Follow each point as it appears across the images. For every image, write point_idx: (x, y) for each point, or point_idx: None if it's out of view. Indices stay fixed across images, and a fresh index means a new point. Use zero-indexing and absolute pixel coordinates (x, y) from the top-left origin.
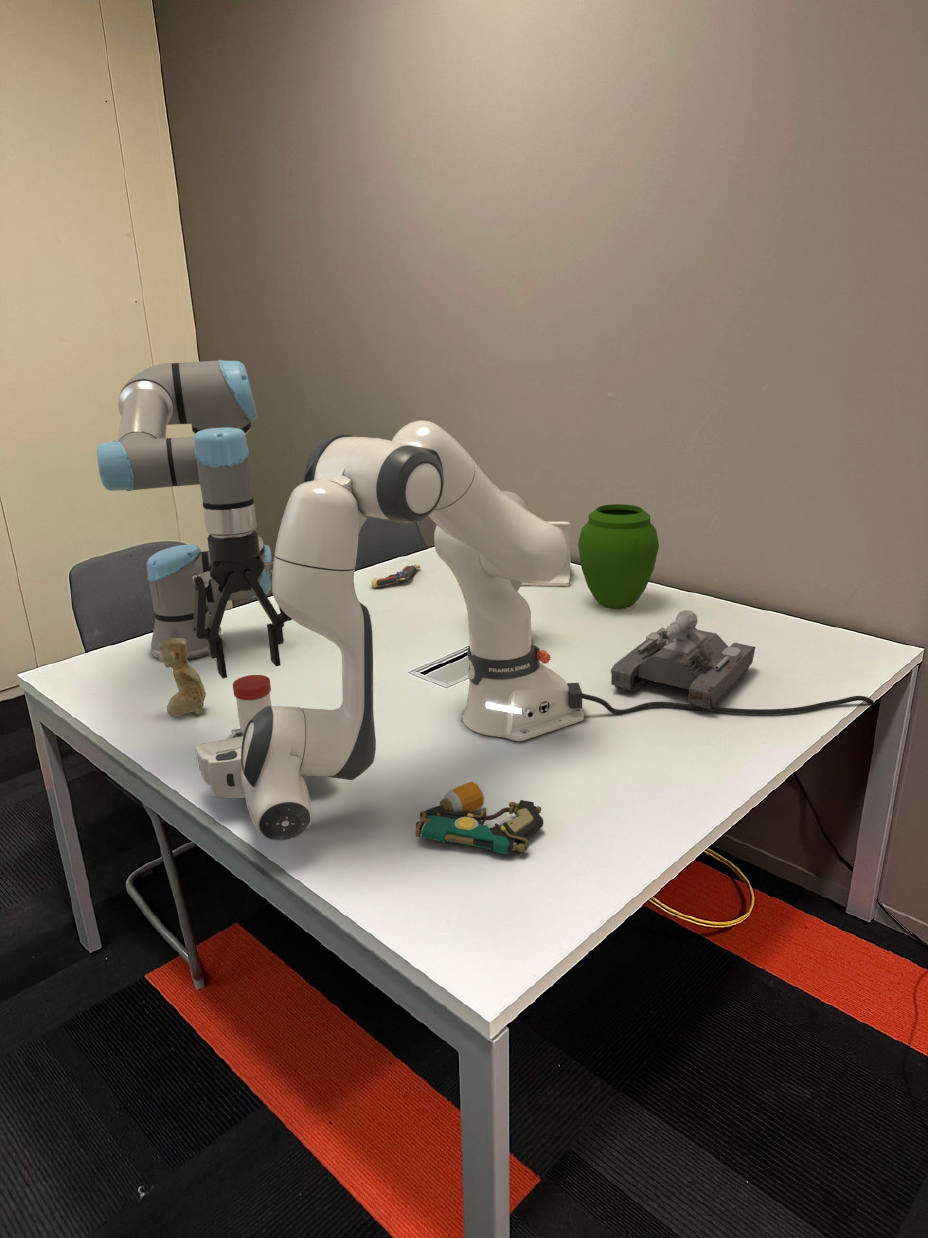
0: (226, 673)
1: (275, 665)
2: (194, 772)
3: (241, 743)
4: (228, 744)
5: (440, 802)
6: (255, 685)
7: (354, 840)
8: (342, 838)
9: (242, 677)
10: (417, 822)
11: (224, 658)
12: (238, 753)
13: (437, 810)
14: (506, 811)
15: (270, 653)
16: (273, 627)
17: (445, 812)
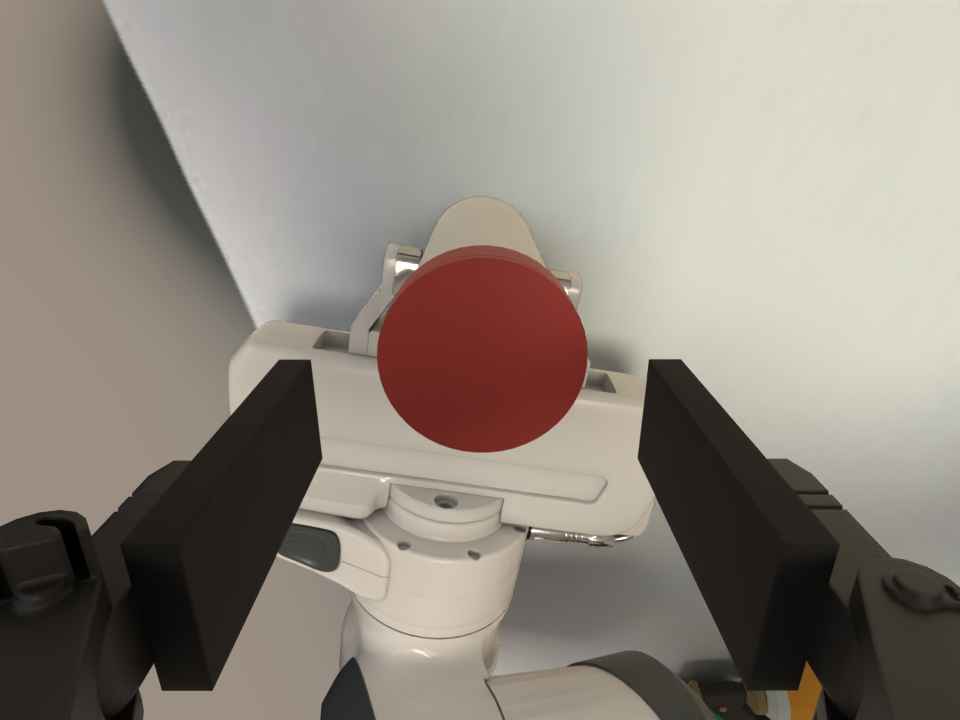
0: (313, 473)
1: (639, 448)
2: (277, 161)
3: (385, 424)
4: (341, 408)
5: None
6: (489, 414)
7: (554, 634)
8: (536, 620)
9: (455, 270)
10: None
11: (279, 545)
12: (345, 558)
13: (729, 702)
14: None
15: (666, 394)
16: (786, 663)
17: (738, 712)
